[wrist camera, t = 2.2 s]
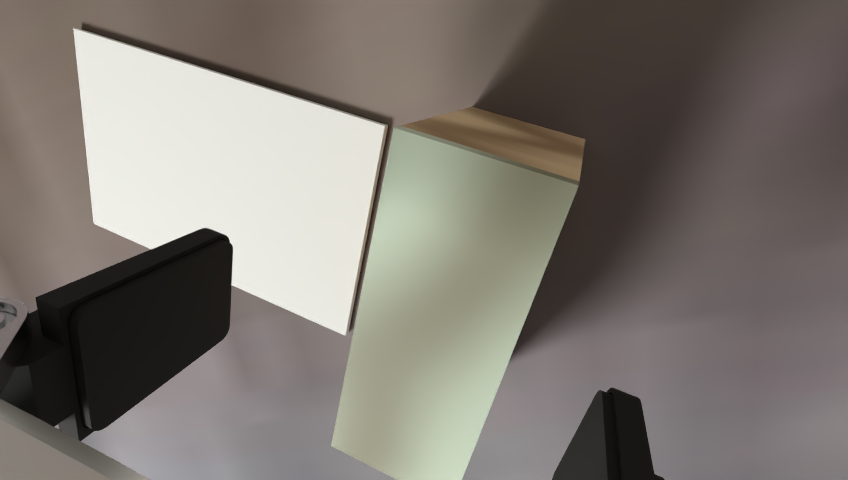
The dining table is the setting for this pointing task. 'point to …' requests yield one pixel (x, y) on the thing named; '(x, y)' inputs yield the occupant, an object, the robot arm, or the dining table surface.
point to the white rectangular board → (231, 172)
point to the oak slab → (450, 285)
